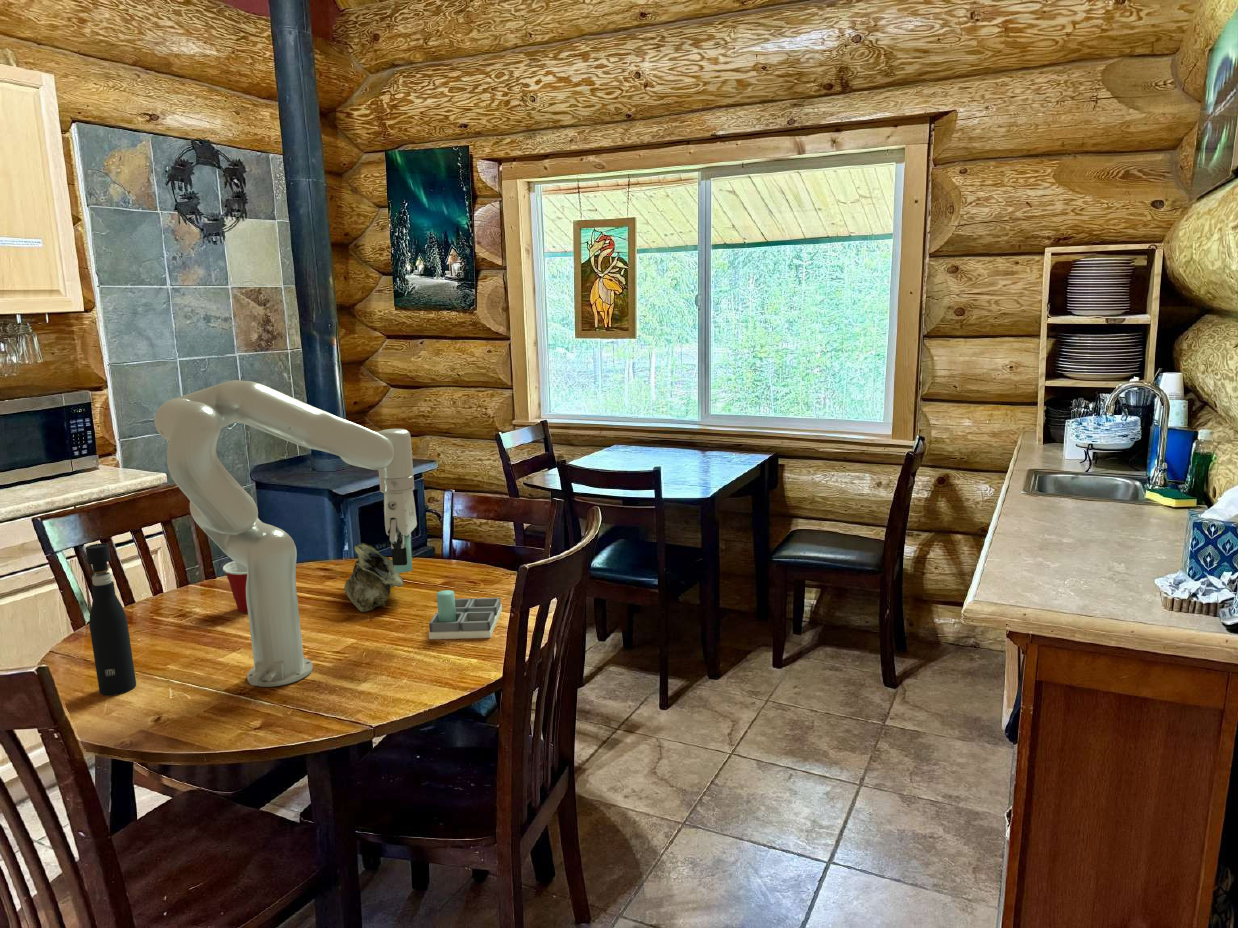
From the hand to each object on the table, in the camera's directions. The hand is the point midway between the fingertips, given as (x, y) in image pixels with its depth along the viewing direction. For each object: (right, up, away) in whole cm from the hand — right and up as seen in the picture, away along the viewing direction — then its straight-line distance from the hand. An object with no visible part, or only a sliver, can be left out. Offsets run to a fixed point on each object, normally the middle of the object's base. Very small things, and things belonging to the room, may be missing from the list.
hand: (402, 560), depth 190 cm
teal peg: (0, -2, 0) cm, 2 cm away
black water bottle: (-52, -23, -23) cm, 61 cm away
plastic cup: (-44, -15, +22) cm, 51 cm away
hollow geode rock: (-15, -13, +29) cm, 35 cm away
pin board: (+14, -16, +7) cm, 22 cm away
